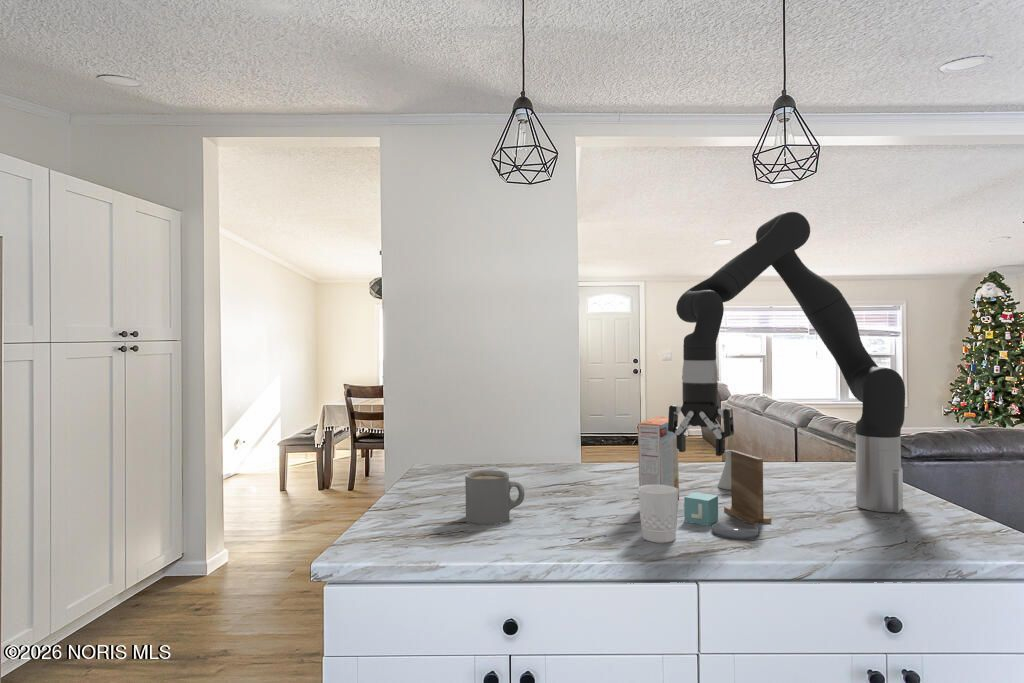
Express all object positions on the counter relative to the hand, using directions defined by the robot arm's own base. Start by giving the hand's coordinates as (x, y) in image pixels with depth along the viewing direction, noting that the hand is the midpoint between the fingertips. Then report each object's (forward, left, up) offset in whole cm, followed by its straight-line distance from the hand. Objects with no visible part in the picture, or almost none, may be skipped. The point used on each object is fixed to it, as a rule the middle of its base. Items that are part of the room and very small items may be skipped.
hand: (700, 453), depth 141 cm
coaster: (-9, +4, -15) cm, 18 cm away
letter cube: (0, 0, -15) cm, 15 cm away
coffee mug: (+38, +26, -15) cm, 48 cm away
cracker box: (+13, -6, -15) cm, 21 cm away
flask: (+6, -35, -15) cm, 39 cm away
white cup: (+2, +17, -15) cm, 23 cm away
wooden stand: (-7, -9, -15) cm, 19 cm away
